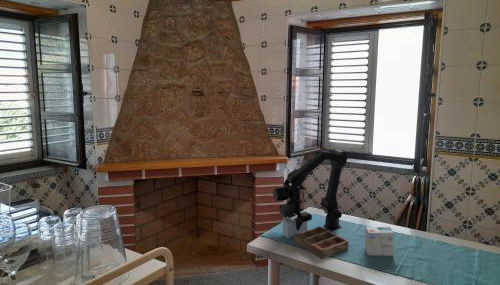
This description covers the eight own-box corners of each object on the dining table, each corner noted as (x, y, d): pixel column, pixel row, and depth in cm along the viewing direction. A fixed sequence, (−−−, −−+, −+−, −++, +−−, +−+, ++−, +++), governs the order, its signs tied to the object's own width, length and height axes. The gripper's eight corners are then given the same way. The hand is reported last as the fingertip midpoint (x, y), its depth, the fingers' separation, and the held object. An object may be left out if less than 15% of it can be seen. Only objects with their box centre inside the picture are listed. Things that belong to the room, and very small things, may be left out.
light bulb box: (389, 248, 158) (390, 225, 156) (393, 256, 151) (394, 232, 149) (364, 248, 159) (364, 225, 157) (367, 255, 152) (368, 232, 150)
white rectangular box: (302, 229, 180) (302, 214, 178) (307, 231, 177) (307, 216, 175) (282, 235, 174) (282, 219, 172) (287, 238, 171) (287, 222, 169)
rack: (319, 233, 175) (319, 225, 174) (348, 248, 159) (348, 239, 158) (294, 242, 167) (294, 233, 166) (321, 259, 151) (321, 249, 150)
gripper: (270, 196, 175) (270, 226, 179) (293, 208, 160) (294, 240, 163) (288, 191, 181) (288, 220, 184) (312, 202, 165) (312, 234, 168)
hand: (295, 228), depth 175 cm, fingers closed on white rectangular box, 4 cm apart
